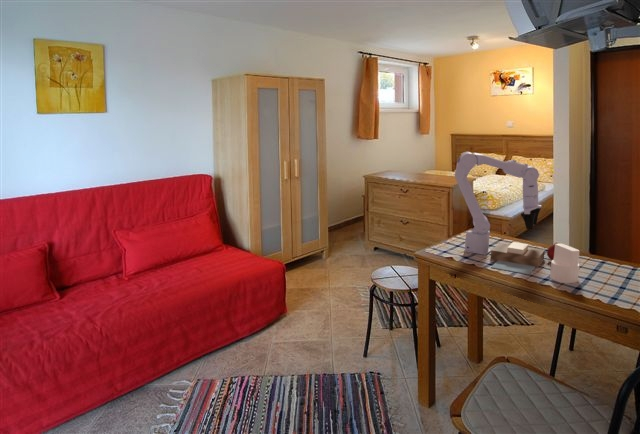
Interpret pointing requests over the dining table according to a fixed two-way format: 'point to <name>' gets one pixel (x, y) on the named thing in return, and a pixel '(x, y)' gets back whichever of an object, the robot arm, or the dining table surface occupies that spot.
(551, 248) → the onion
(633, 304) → the dining table surface
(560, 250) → the base with upright slab
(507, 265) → the mat
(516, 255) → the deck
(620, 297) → the dining table surface
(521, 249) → the tan tilted rectangular prism
